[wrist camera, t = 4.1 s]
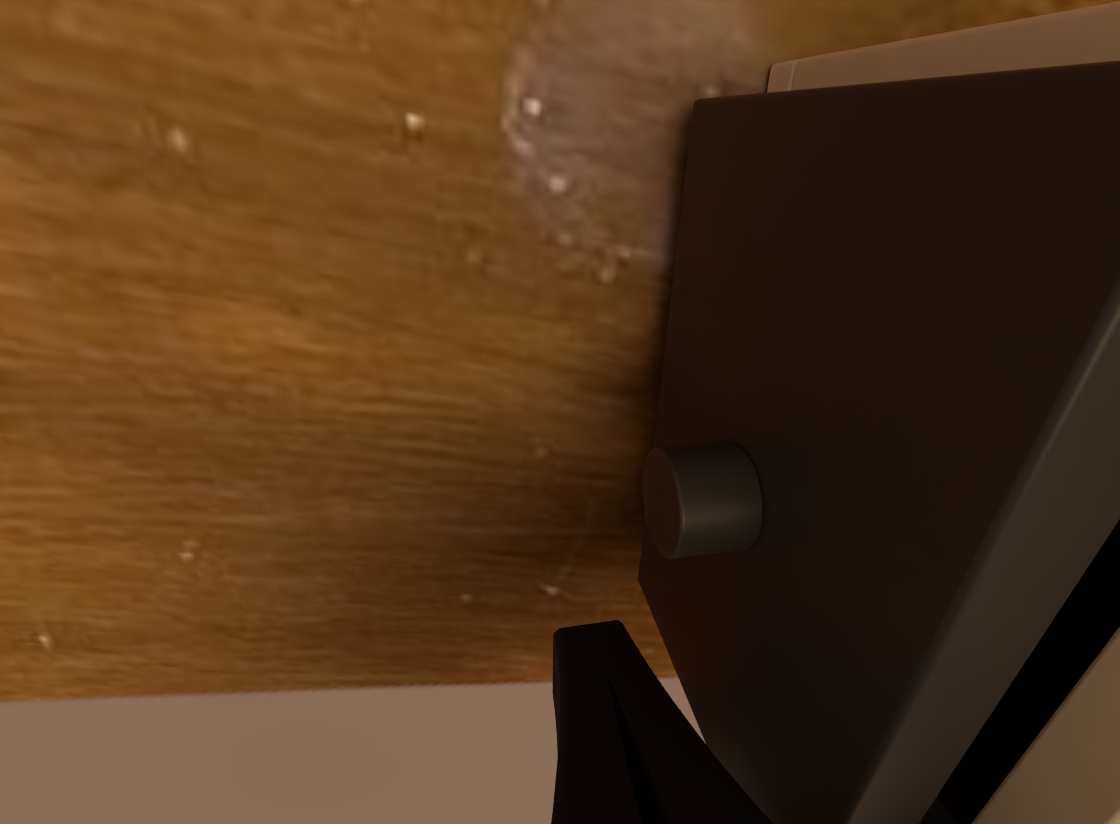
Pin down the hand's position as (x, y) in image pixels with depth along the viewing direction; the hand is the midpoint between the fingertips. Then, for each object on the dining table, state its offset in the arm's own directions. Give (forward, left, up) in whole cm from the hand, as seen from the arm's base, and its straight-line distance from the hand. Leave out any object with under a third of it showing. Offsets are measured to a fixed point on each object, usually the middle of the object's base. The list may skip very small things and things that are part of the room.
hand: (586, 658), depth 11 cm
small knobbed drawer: (+11, +2, -3) cm, 12 cm away
